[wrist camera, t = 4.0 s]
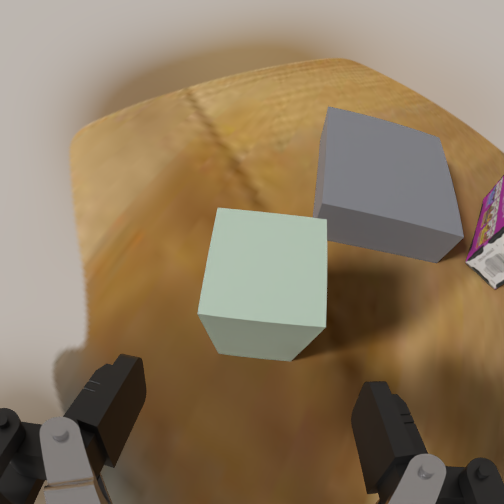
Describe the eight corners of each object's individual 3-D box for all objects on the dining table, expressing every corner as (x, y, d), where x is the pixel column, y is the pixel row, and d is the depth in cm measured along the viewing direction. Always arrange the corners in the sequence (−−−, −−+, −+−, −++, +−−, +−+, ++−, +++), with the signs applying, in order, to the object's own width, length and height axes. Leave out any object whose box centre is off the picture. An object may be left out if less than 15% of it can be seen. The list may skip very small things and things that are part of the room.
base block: (421, 169, 30) (439, 137, 26) (434, 264, 24) (463, 237, 20) (319, 143, 31) (328, 106, 26) (309, 239, 25) (322, 203, 21)
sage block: (295, 294, 23) (326, 219, 14) (290, 361, 20) (325, 327, 12) (228, 287, 23) (217, 207, 14) (218, 353, 21) (197, 313, 12)
